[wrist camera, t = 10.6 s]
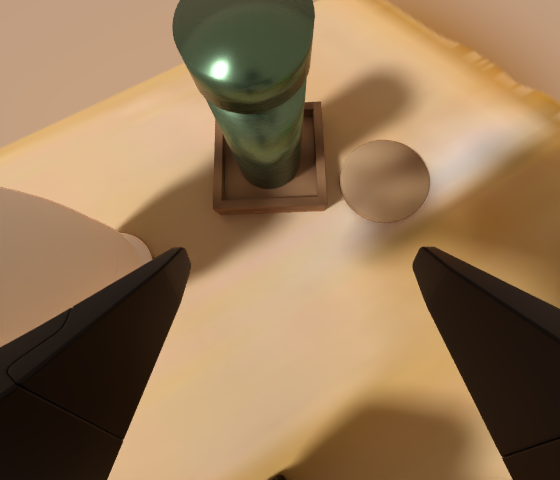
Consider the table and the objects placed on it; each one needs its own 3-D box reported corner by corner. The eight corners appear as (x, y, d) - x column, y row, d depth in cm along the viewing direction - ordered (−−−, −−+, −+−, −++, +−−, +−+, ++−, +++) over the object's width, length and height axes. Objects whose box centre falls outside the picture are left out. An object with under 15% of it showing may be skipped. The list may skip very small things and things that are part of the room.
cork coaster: (444, 180, 22) (447, 178, 22) (386, 240, 21) (388, 239, 21) (378, 127, 23) (380, 124, 23) (322, 182, 23) (322, 180, 22)
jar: (138, 206, 23) (-125, 92, 9) (182, 285, 22) (-48, 313, 7) (54, 259, 23) (-376, 234, 8) (93, 344, 21) (-356, 506, 7)
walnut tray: (323, 210, 22) (327, 204, 20) (220, 214, 23) (213, 208, 21) (318, 117, 24) (320, 101, 22) (222, 122, 24) (215, 107, 22)
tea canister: (311, 145, 22) (337, -16, 10) (284, 200, 21) (275, 100, 9) (255, 122, 23) (214, -53, 11) (227, 175, 22) (146, 51, 10)
